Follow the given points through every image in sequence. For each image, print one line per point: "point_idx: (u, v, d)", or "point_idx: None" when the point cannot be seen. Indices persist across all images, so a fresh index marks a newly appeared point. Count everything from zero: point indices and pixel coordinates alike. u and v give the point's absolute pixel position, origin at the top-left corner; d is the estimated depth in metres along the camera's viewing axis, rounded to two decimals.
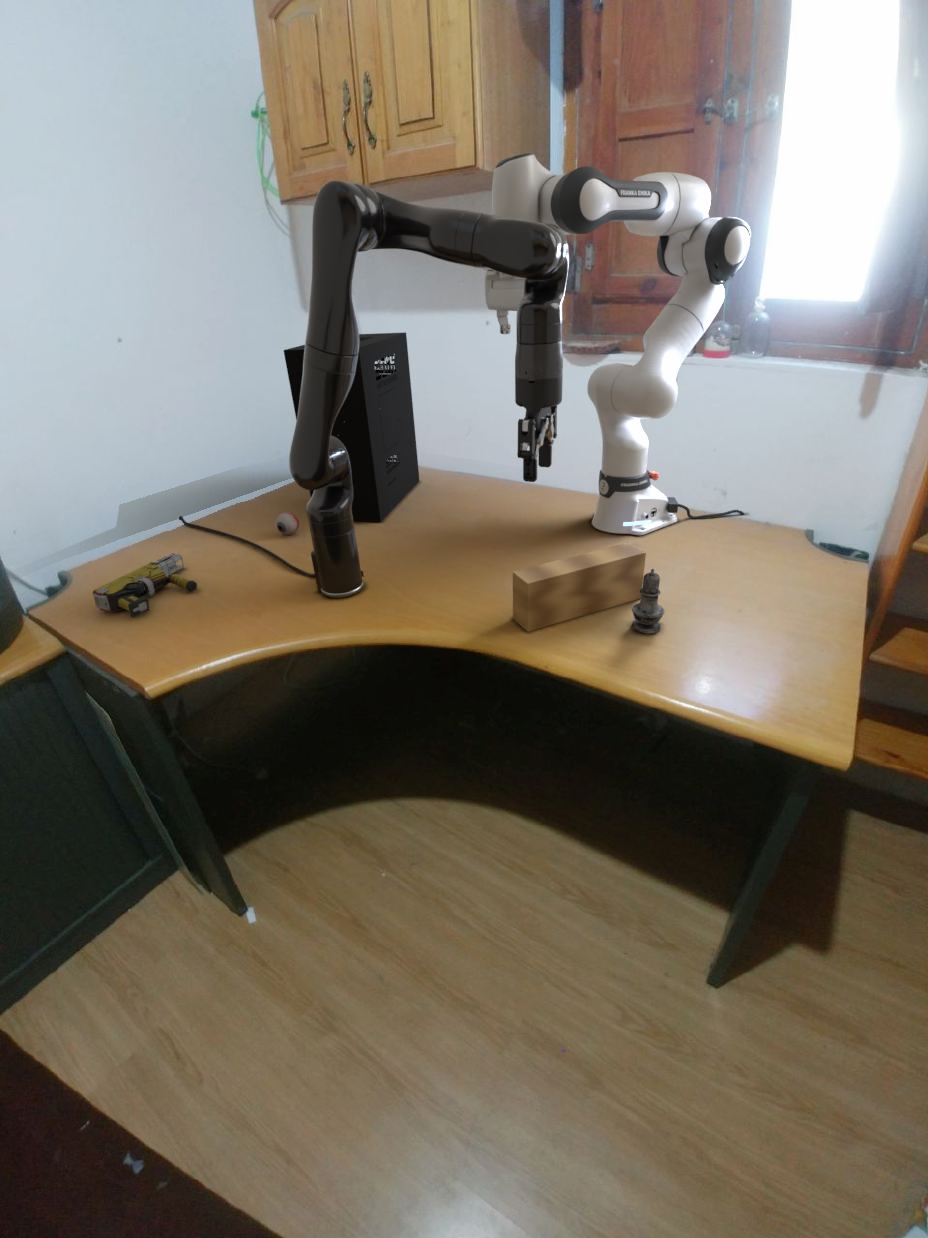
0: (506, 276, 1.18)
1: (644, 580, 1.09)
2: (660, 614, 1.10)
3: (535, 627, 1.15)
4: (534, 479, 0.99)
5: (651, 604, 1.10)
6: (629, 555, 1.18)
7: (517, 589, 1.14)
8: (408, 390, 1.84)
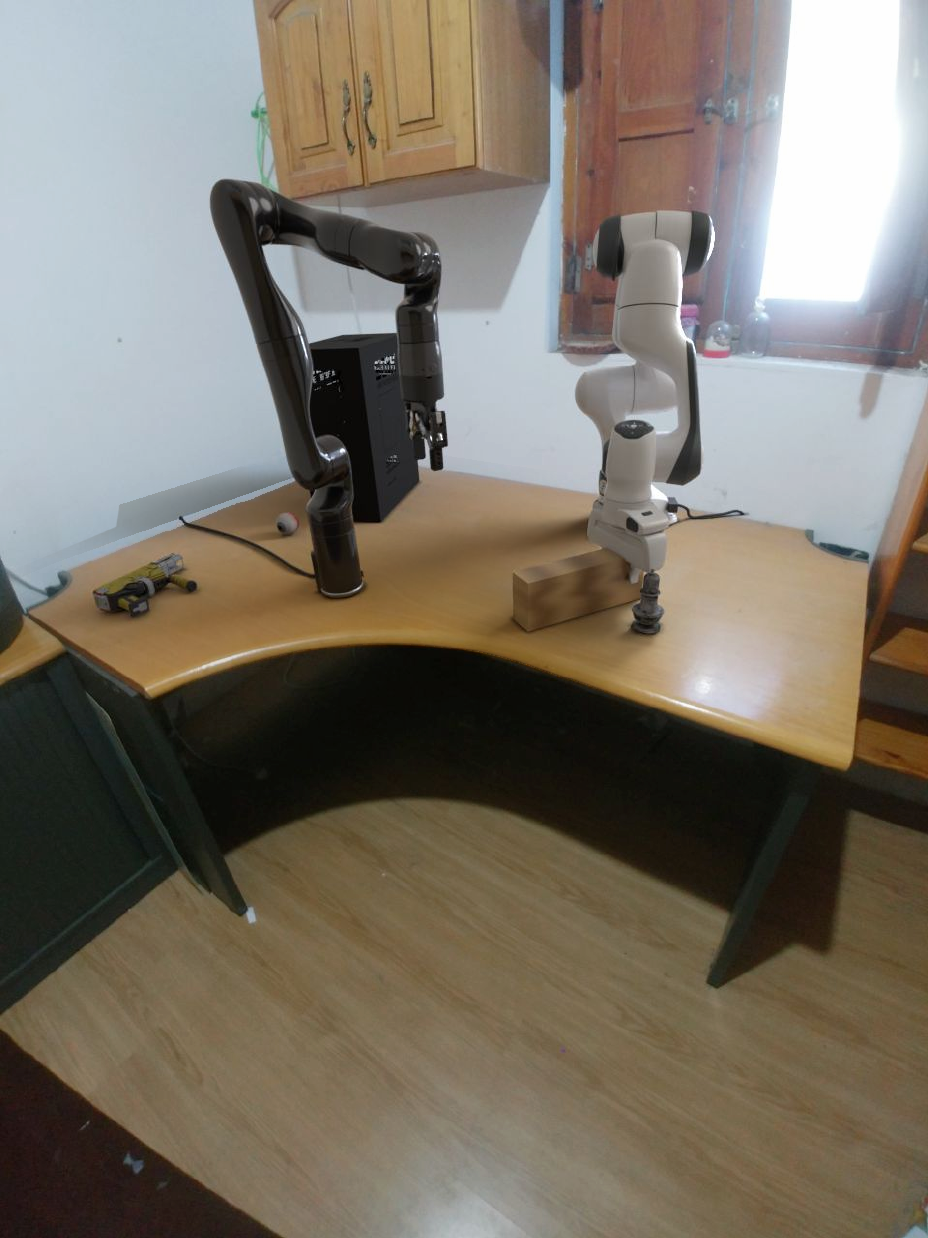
0: None
1: (644, 580, 1.09)
2: (660, 614, 1.10)
3: (535, 627, 1.15)
4: (442, 467, 1.07)
5: (651, 604, 1.10)
6: None
7: (517, 589, 1.14)
8: None
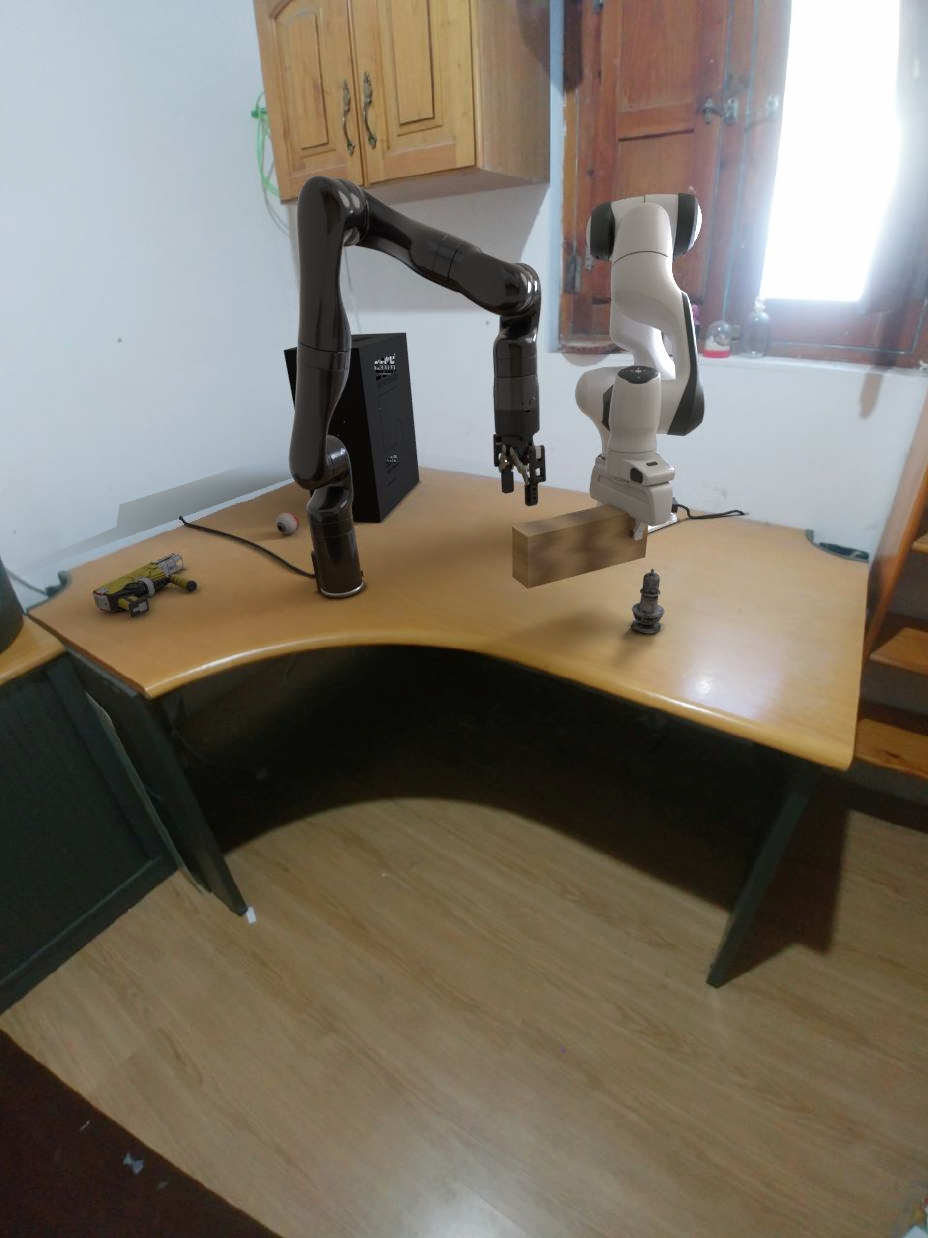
0: None
1: (644, 580, 1.09)
2: (660, 614, 1.10)
3: (535, 584, 1.11)
4: (536, 502, 1.03)
5: (651, 604, 1.10)
6: None
7: (516, 544, 1.10)
8: (408, 390, 1.84)
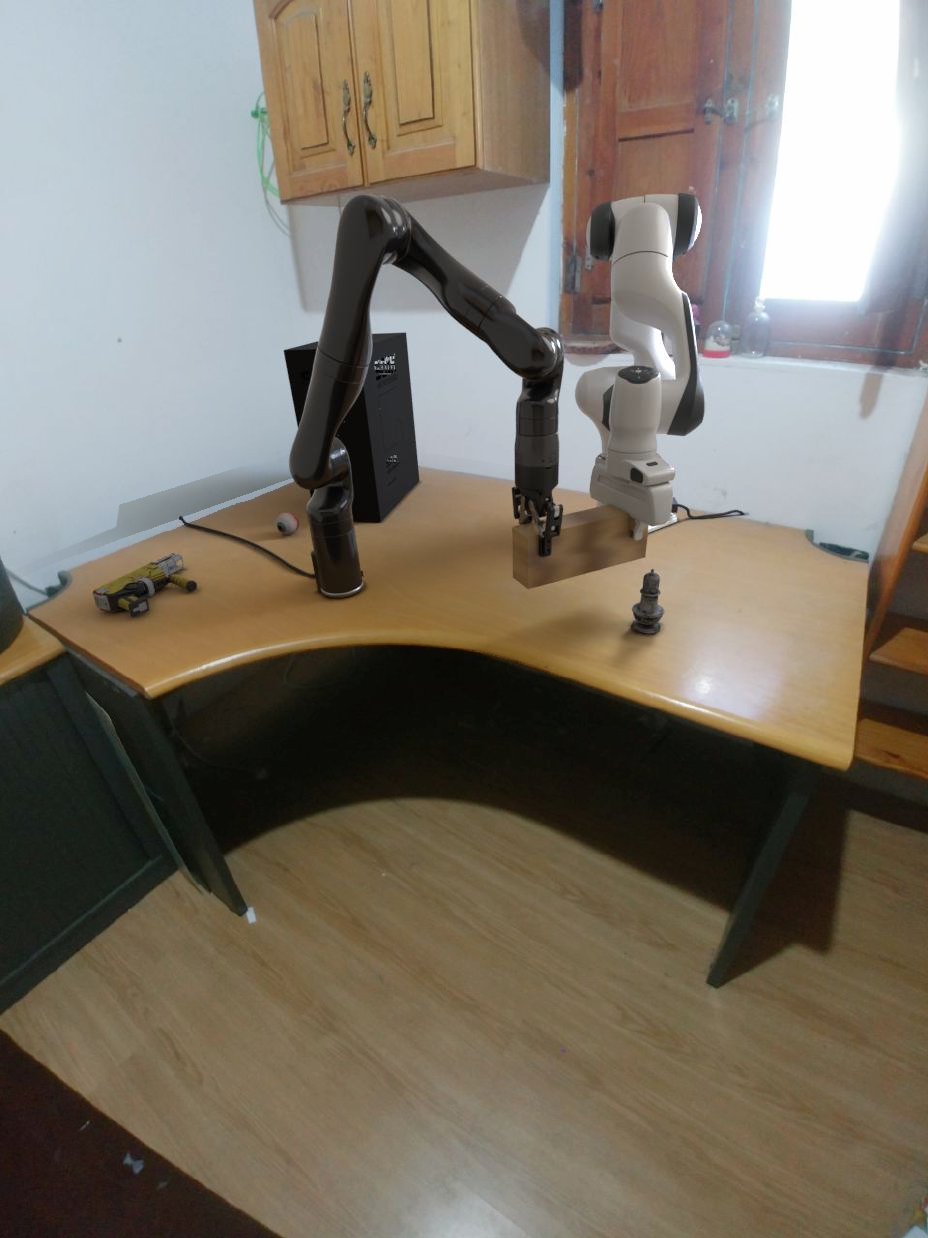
0: None
1: (644, 580, 1.09)
2: (660, 614, 1.10)
3: (536, 585, 1.11)
4: None
5: (651, 604, 1.10)
6: None
7: (517, 545, 1.10)
8: (408, 390, 1.84)
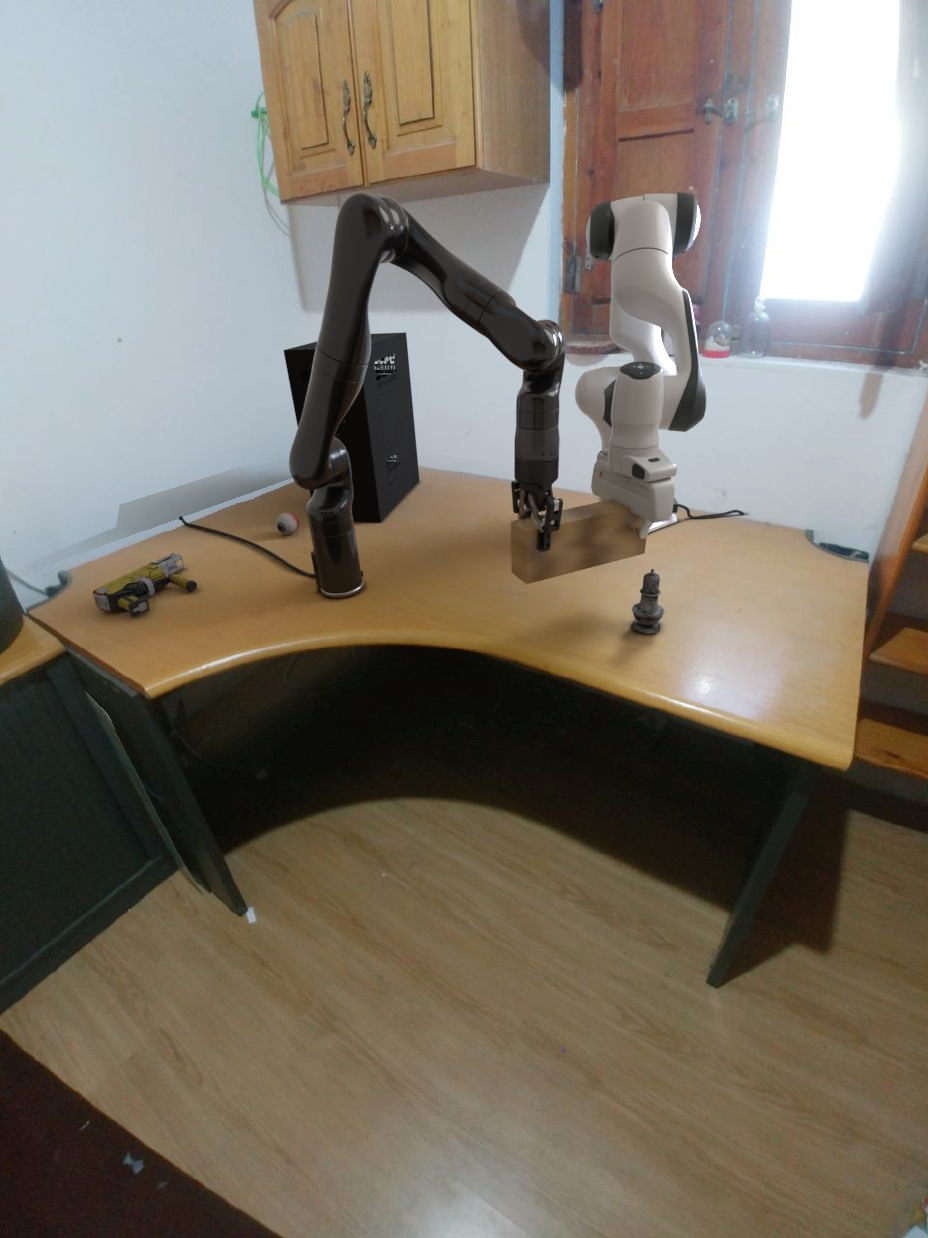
0: None
1: (644, 580, 1.09)
2: (660, 614, 1.10)
3: (534, 580, 1.10)
4: None
5: (651, 604, 1.10)
6: None
7: (516, 539, 1.09)
8: (408, 390, 1.84)
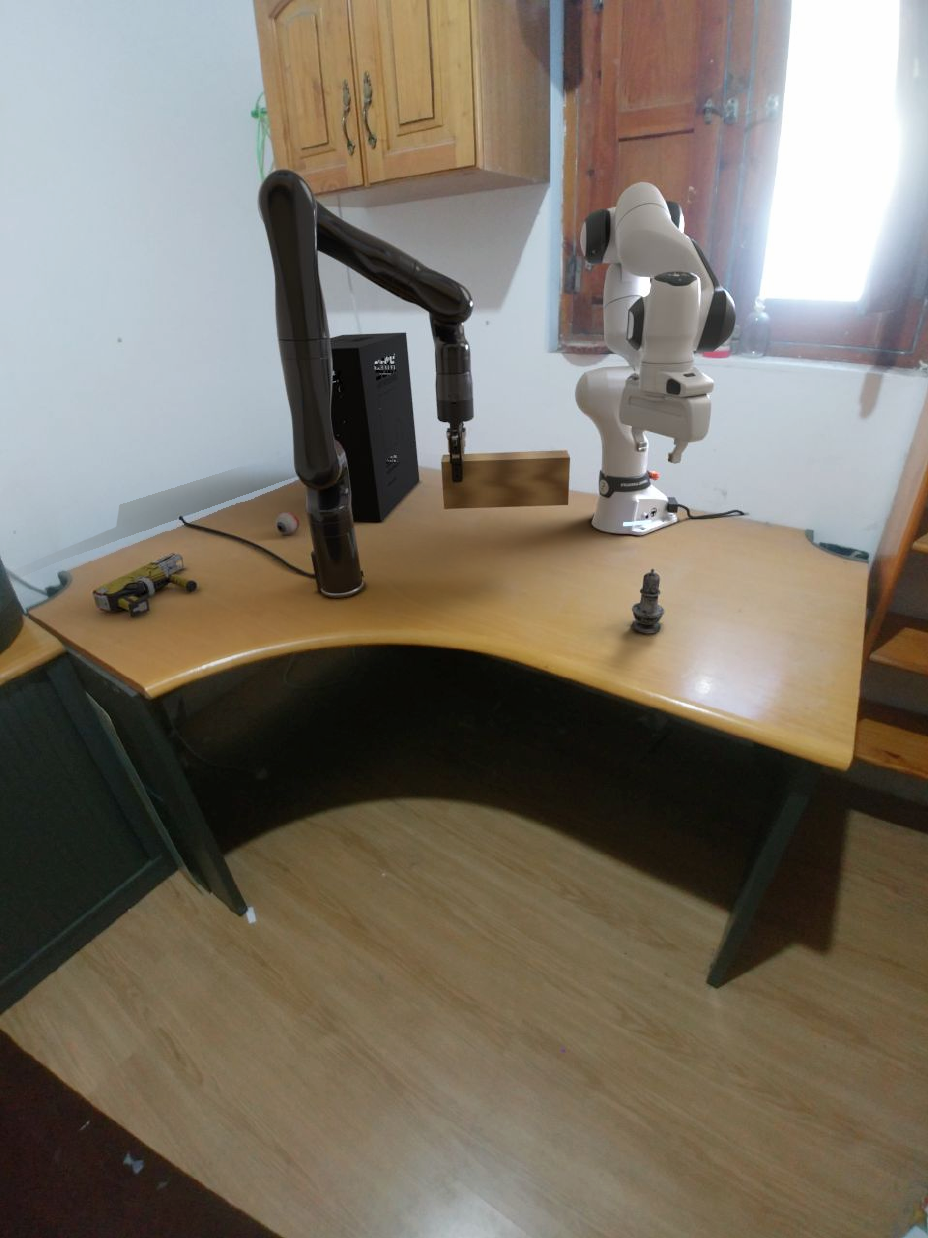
0: None
1: (644, 580, 1.09)
2: (660, 614, 1.10)
3: (451, 506, 1.31)
4: (461, 480, 1.27)
5: (651, 604, 1.10)
6: (552, 457, 1.25)
7: None
8: (408, 390, 1.84)
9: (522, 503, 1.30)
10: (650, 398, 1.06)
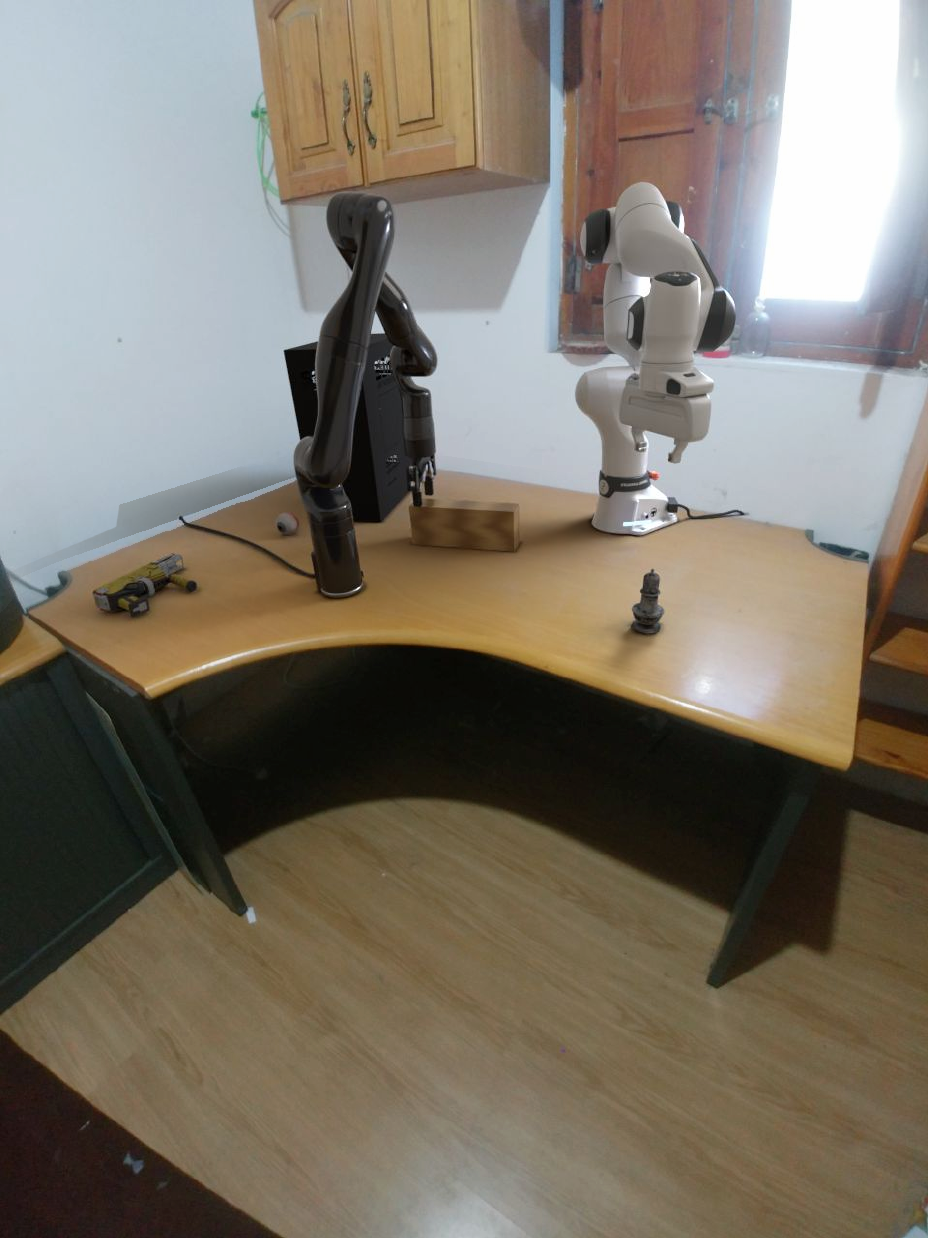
0: None
1: (644, 580, 1.09)
2: (660, 614, 1.10)
3: (418, 542, 1.54)
4: (420, 505, 1.47)
5: (651, 604, 1.10)
6: (499, 510, 1.44)
7: None
8: None
9: (475, 546, 1.50)
10: (650, 398, 1.06)
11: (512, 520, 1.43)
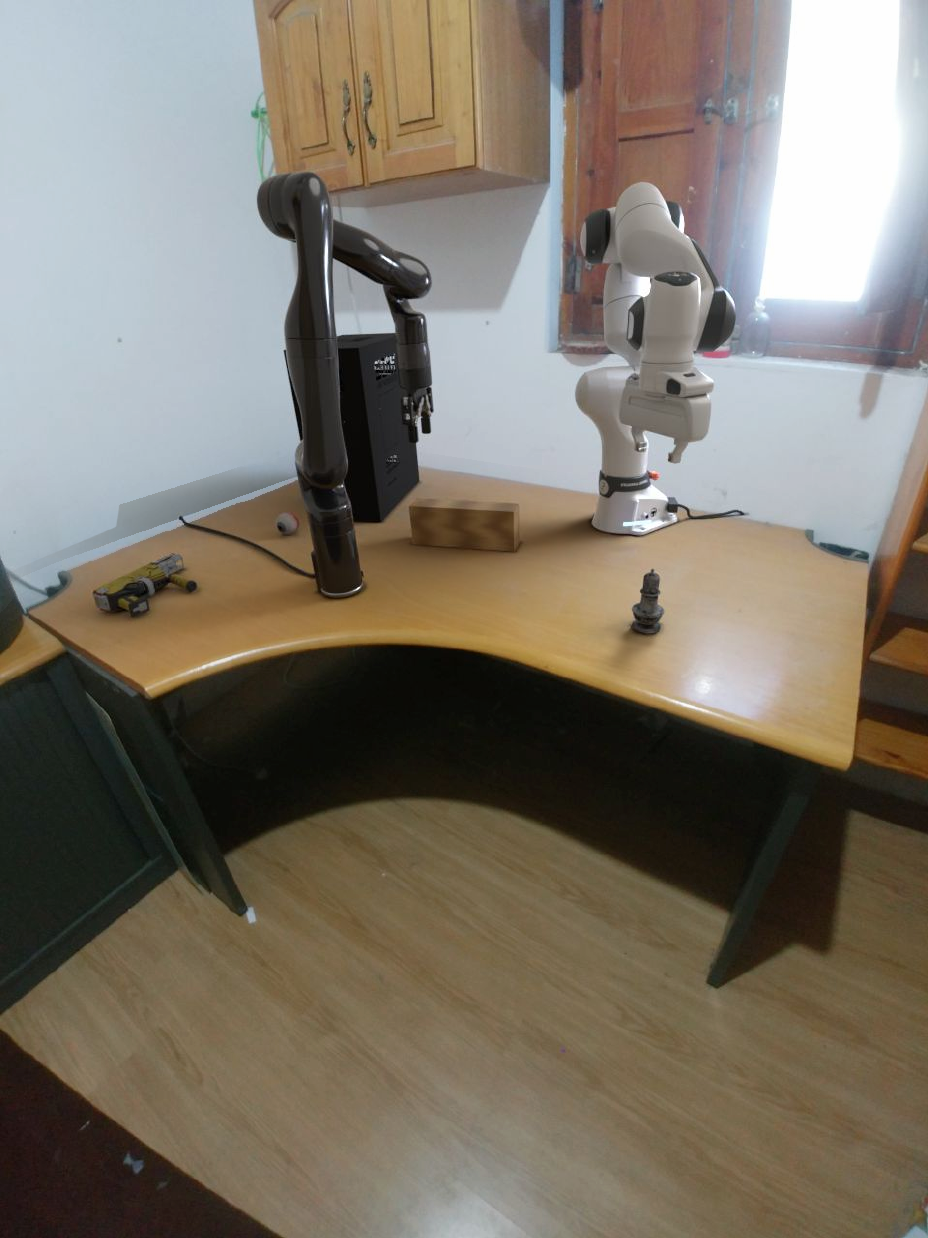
0: None
1: (644, 580, 1.09)
2: (660, 614, 1.10)
3: (418, 542, 1.54)
4: (416, 440, 1.39)
5: (651, 604, 1.10)
6: (499, 510, 1.44)
7: None
8: None
9: (475, 546, 1.50)
10: (650, 398, 1.06)
11: (512, 520, 1.43)
